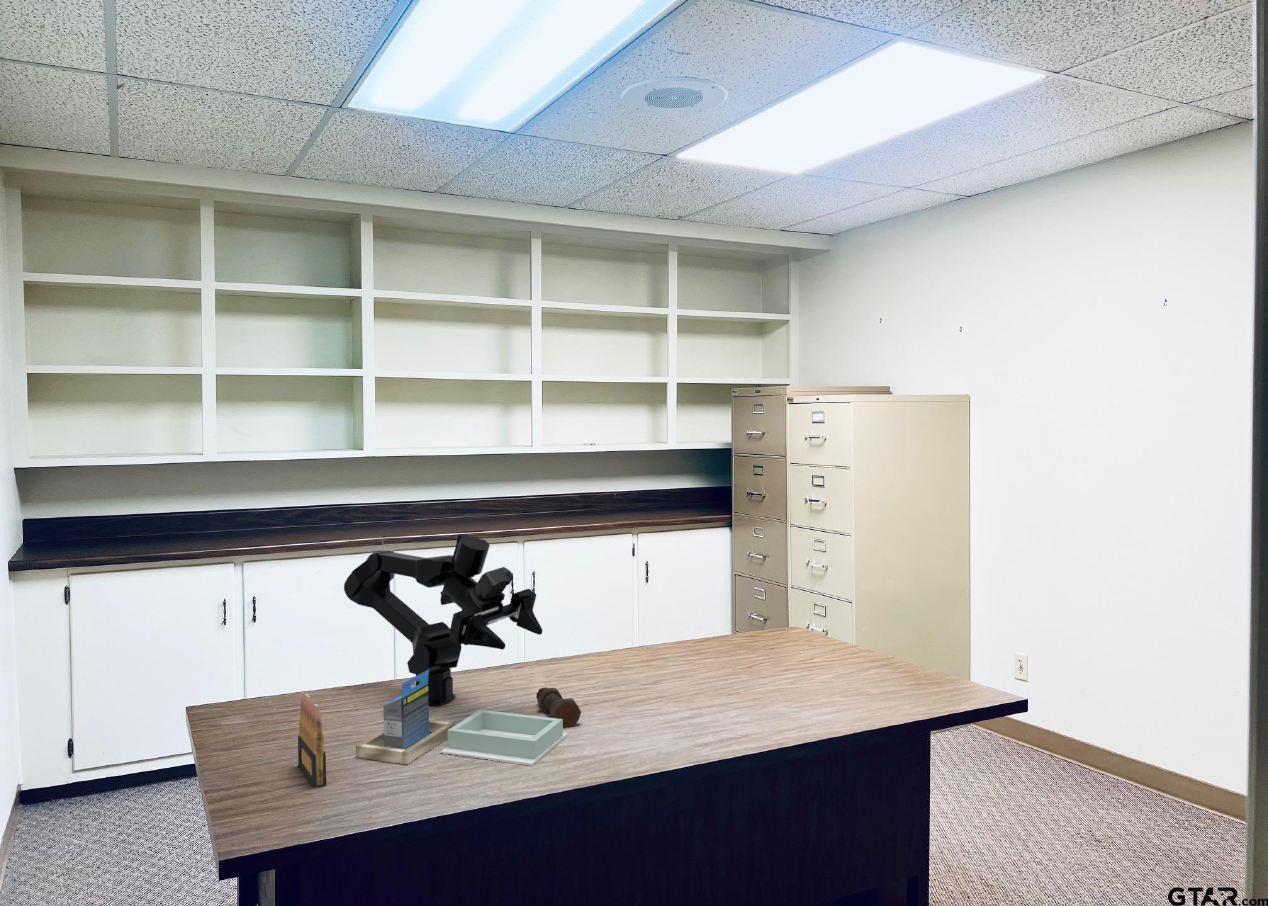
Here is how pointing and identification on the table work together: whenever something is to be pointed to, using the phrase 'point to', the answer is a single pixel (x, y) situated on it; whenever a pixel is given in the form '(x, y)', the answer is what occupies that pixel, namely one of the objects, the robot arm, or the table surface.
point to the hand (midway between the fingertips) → (523, 639)
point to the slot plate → (505, 737)
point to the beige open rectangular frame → (377, 752)
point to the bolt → (558, 706)
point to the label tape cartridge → (408, 715)
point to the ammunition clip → (311, 744)
